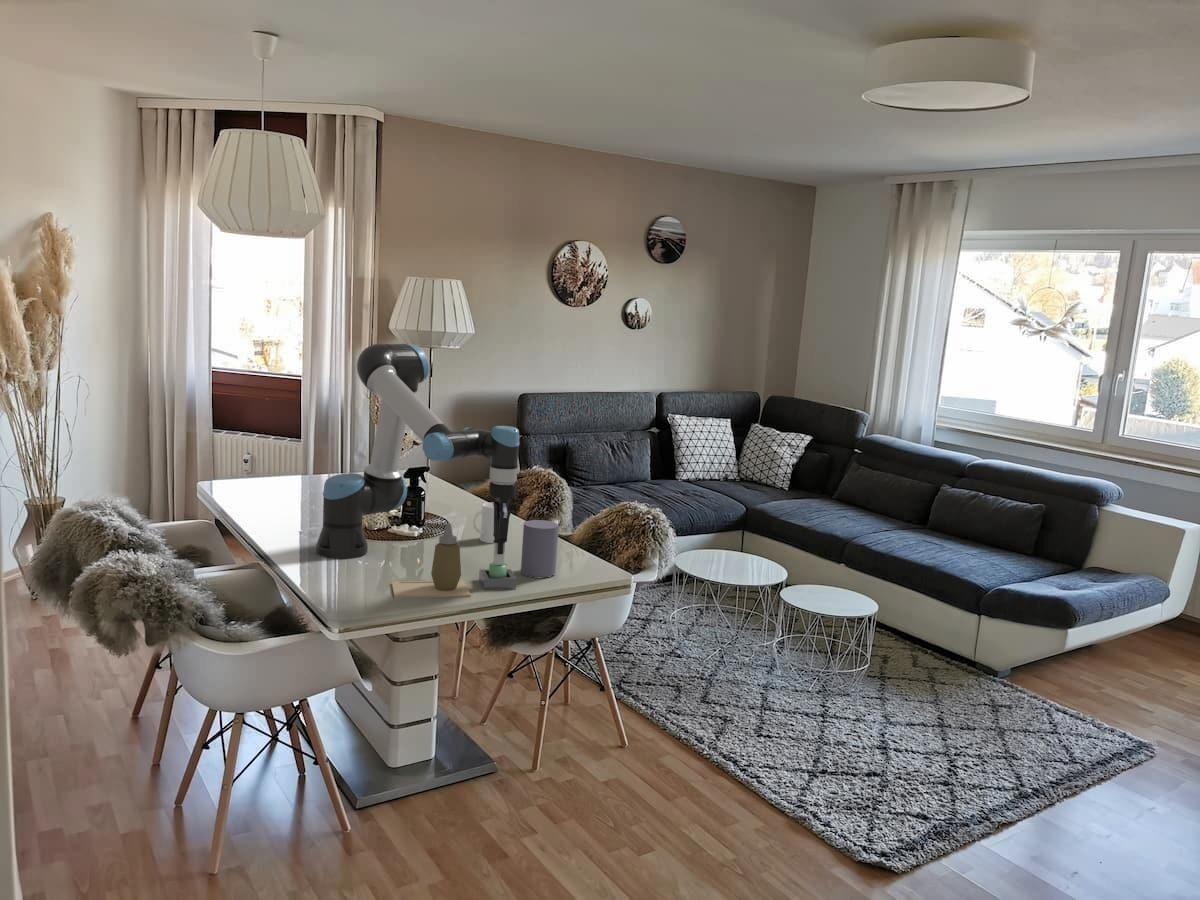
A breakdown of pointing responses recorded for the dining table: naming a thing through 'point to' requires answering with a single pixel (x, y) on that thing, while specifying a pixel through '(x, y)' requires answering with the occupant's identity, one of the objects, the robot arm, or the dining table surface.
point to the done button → (497, 570)
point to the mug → (486, 523)
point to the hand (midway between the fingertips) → (498, 564)
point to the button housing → (497, 580)
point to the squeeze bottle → (446, 561)
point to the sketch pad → (427, 589)
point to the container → (539, 548)
